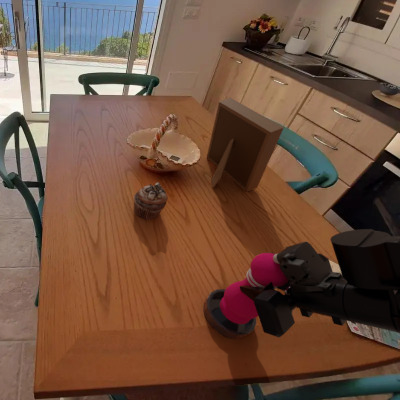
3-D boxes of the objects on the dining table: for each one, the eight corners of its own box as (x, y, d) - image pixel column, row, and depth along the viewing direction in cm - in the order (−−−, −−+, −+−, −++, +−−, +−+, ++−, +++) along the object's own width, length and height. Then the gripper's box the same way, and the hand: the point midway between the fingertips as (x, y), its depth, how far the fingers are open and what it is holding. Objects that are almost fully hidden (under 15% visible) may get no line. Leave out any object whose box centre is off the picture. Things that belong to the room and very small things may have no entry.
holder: (260, 325, 60) (266, 321, 58) (229, 347, 56) (234, 343, 54) (224, 287, 66) (228, 282, 64) (193, 305, 62) (197, 300, 61)
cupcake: (150, 197, 89) (157, 173, 83) (168, 217, 83) (177, 193, 76) (125, 204, 86) (131, 180, 79) (142, 225, 80) (149, 201, 73)
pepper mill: (213, 314, 58) (255, 260, 44) (221, 289, 62) (261, 233, 49) (250, 333, 55) (306, 282, 42) (255, 305, 59) (307, 250, 46)
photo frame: (214, 156, 110) (242, 96, 93) (255, 189, 95) (298, 125, 78) (184, 162, 106) (208, 100, 89) (222, 197, 91) (259, 131, 74)
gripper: (362, 226, 42) (261, 227, 57) (304, 279, 35) (204, 265, 49) (382, 290, 43) (278, 275, 57) (329, 357, 35) (223, 321, 49)
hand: (248, 282), depth 53 cm, fingers closed on pepper mill, 5 cm apart
